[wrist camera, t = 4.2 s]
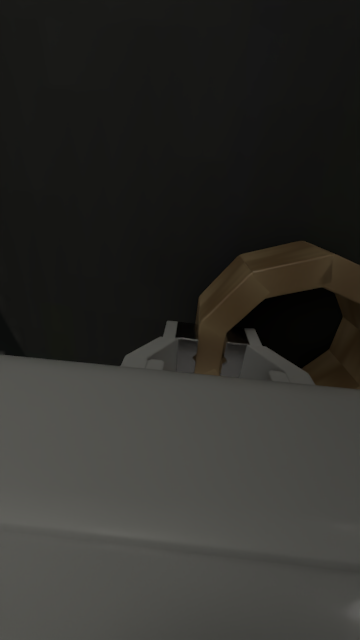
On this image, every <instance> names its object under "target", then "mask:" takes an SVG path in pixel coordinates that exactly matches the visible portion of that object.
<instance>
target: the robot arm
mask: <svg viewBox="0 0 360 640" xmlns="http://www.w3.org/2000/svg"><path fill="white" fill-rule="evenodd" d="M197 330H198V324H193V323H184V322H177V321H167V322H166V326H165V330H164V334H163V337H159V338H157V339H155V340H153V341H151V342H149V343H148V344H146V345H144V346H142V347H140V348H138V349H137V350H135V351H133V352H131V353H129V354H127V355H126V356H125V357H124V360H123V362H122V364H121V366H114V365H103V364H93V363H82V362H72V361H62V360H51V359H41V358H31V357H20V356H9V355H0V640H360V389H350V388H340V387H330V386H319V385H315V383H314V382H313V380H312V379H311V377H310V375H309V374H308V373H307V372H305V371H304V370H302V369H300V368H299V367H297V366H296V365H294V364H293V363H291V362H289V361H288V360H286V359H285V358H283V357H281V356H280V355H278V354H277V353H275V352H274V351H272V350H270V349H269V348H267V347H265V346H262V344H261V342H260V340H259V337H258V335H257V333H256V331H255V329H254V328H241V327H233V328H232V329H230V330H229V331H228V332H227V334H226V336H225V340H224V346H223V355H222V357H221V362H220V368H219V371H220V376H216V375H206V374H196V373H194V371H195V363H196V354H197V347H198V331H197Z"/></svg>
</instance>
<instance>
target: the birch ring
mask: <svg viewBox="0 0 360 640" xmlns="http://www.w3.org/2000/svg"><path fill="white" fill-rule="evenodd" d="M321 287H322V288H324V289H327V290H329V291H331V292H333V293H335V296H336V299H337V301H338V304H339V307H340V309H341V312H342V315H343V318H342V320H341V323H340V325H339V327H338V330H337V332H336V334H335V337H334V339H333V341H332V344H331V346H330V348H329V350H327V351H326V352H324V353H323V354H322V355H320V356H319V357H317V358H316V359H314V360H313V361H312V362H310V363H309V364H307V365H306V366H305V367H303V368H302V370H304V371H305V372H307V373H308V374H309V375H310V377H311V379H312V380H313V382H314V383H315V385H319V386H330V387H340V388H350V389H360V265H358V264H356V263H354V262H352V261H349V260H347V259H345V258H343V257H341V256H339V255H337V254H334V253H332V252H329V251H327V250H325V249H322V248H320V247H317V246H315V245H313V244H310V243H308V242H305V241H297V242H292V243H288V244H284V245H279V246H275V247H271V248H266V249H262V250H257V251H253V252H249V253H244V254H241V255H240V256H237V257H236V258H235V260H234V261H233V262H232V263H231V264H230V265H229V266H228V267H227V268H226V269H225V270H224V271H223V272H222V273H221V274H220V275H219V276H218V277H217V278H216V279H215V280H214V281H213V282H212V283H211V284H210V286H209V287H208V288H207V289H206V290H205V291H204V292H203V293H202V294H201V295H200V296H199V298H198V306H197V314H196V323H195V324H198V330H197V331H198V347H197V354H196V363H195V371H194V373H196V374H206V375H216V376H220V371H219V368H220V362H221V357H222V355H223V346H224V340H225V336H226V334H227V332H228V331H229V330H230V329H232V328H233V327H234V326H235V325H236V324H237V323H238V322H239V321H240V320H242V319H243V318H244V317H245V316H246V315H247V314H248V313H249V312H250V311H252V310H253V309H254V308H255V307H256V306H257V305H258V304H259V303H261V302H262V301H263V300H264V299H265V298H270V297H275V296H280V295H285V294H290V293H296V292H301V291H306V290H311V289H316V288H321Z"/></svg>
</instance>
